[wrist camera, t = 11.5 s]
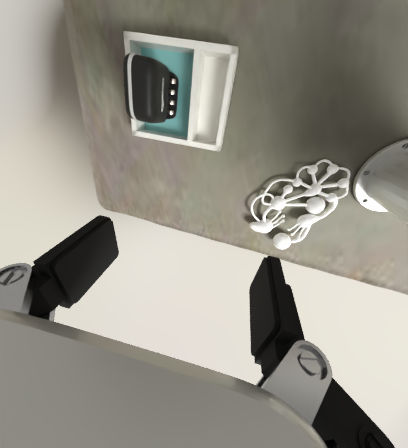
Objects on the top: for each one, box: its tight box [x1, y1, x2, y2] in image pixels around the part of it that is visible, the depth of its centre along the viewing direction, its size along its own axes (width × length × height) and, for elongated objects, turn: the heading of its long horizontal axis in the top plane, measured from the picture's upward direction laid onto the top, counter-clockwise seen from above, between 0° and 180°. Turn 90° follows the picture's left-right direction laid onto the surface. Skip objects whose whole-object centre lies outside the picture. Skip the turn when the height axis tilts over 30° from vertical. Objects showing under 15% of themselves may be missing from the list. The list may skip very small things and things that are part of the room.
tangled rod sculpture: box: [250, 159, 350, 249], centre depth 35 cm, size 19×14×4 cm
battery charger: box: [124, 53, 179, 123], centre depth 25 cm, size 7×4×11 cm, turn 169°
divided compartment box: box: [123, 31, 239, 151], centre depth 28 cm, size 16×13×4 cm
